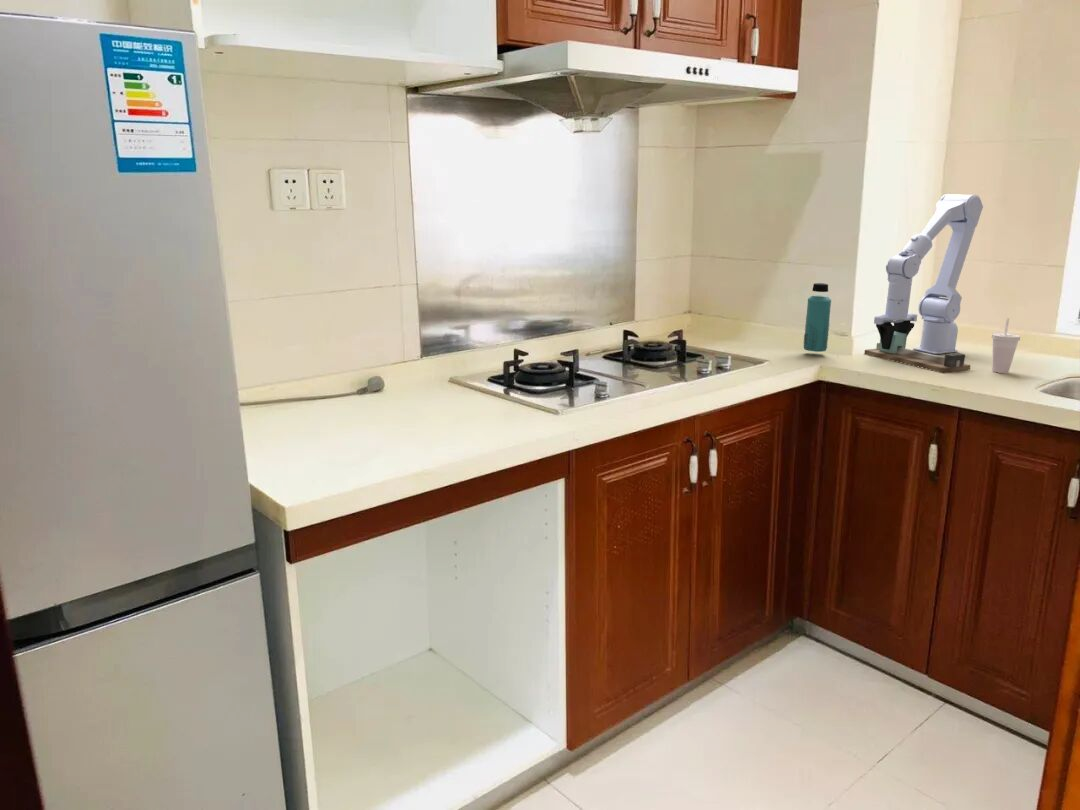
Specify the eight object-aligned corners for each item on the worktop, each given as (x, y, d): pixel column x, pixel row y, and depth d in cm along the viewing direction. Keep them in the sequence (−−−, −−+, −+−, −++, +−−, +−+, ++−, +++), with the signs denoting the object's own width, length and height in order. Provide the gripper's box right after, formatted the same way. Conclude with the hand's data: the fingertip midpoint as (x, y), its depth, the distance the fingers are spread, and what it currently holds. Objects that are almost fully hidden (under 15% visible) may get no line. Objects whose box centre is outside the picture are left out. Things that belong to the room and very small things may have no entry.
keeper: (878, 350, 232) (881, 332, 230) (890, 349, 234) (892, 331, 232) (893, 353, 227) (895, 335, 226) (904, 352, 229) (907, 334, 228)
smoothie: (981, 371, 213) (990, 317, 209) (993, 368, 217) (1001, 315, 213) (1007, 375, 208) (1016, 321, 205) (1019, 372, 212) (1028, 318, 208)
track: (864, 354, 233) (866, 339, 232) (889, 351, 237) (891, 336, 236) (943, 373, 210) (946, 356, 209) (970, 369, 215) (972, 353, 214)
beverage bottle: (831, 356, 229) (839, 284, 224) (811, 357, 227) (818, 285, 222) (817, 351, 235) (824, 281, 230) (797, 353, 233) (803, 282, 228)
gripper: (891, 303, 220) (885, 352, 224) (928, 300, 226) (922, 348, 230) (870, 299, 226) (864, 348, 230) (907, 297, 232) (901, 344, 236)
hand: (892, 348), depth 230 cm, fingers closed on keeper, 4 cm apart
